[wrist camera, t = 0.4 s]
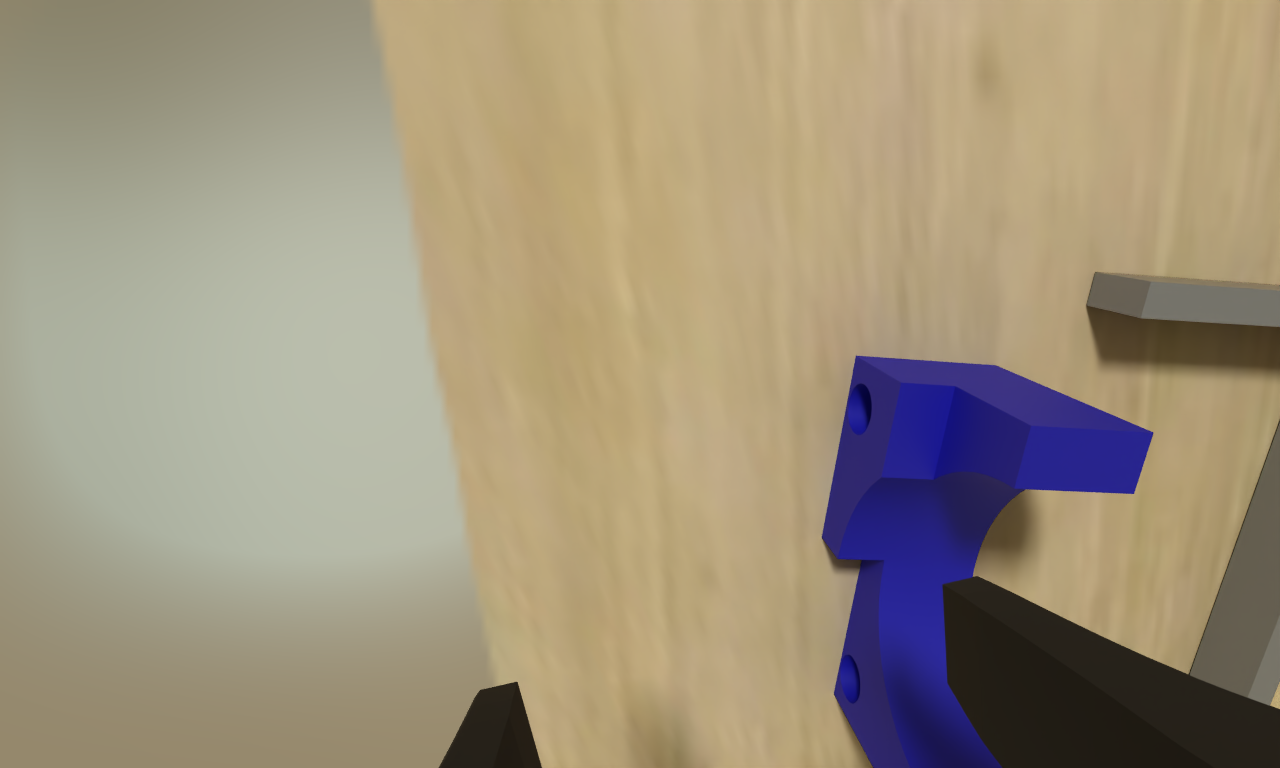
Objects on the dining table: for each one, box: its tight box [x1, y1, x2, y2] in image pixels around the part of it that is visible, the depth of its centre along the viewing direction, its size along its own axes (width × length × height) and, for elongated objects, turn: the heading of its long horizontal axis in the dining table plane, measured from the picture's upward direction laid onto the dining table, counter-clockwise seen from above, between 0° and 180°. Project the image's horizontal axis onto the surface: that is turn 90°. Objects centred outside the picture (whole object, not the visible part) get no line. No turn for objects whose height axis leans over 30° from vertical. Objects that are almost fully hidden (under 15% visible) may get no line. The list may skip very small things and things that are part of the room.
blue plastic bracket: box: [822, 356, 1153, 768], centre depth 20 cm, size 12×4×6 cm, turn 174°
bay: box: [1087, 272, 1280, 706], centre depth 22 cm, size 9×18×2 cm, turn 176°
